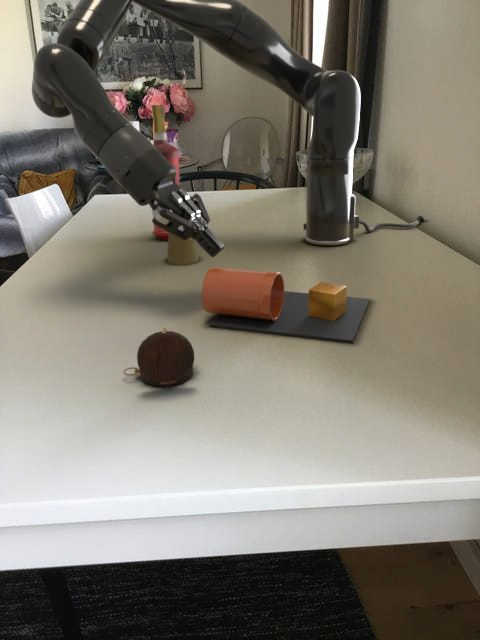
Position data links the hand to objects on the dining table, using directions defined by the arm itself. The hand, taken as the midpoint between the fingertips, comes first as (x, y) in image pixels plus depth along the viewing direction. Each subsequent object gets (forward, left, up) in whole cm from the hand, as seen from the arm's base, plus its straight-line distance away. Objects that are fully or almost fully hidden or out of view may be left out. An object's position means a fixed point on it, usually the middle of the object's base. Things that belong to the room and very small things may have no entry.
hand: (218, 252), depth 83 cm
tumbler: (+2, +3, -5) cm, 6 cm away
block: (-12, +11, -4) cm, 17 cm away
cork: (-2, -27, -9) cm, 28 cm away
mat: (-9, +7, -8) cm, 14 cm away
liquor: (-4, -46, -9) cm, 47 cm away
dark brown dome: (+14, +19, -9) cm, 25 cm away
